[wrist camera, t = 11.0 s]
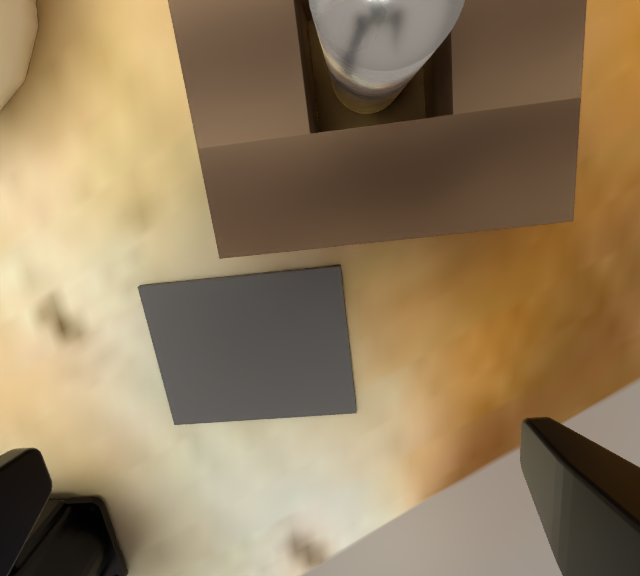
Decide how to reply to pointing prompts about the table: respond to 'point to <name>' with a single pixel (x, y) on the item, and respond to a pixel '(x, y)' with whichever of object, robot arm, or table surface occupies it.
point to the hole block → (382, 128)
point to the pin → (379, 45)
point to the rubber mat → (252, 345)
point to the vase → (15, 44)
